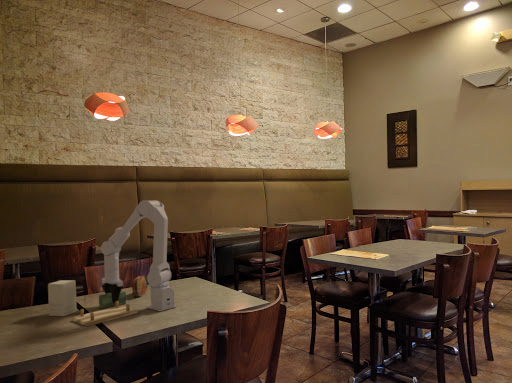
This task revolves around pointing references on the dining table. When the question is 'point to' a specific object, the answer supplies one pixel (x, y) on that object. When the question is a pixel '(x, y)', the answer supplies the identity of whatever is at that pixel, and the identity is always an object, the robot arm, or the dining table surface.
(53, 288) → the supplement box
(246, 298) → the dining table surface
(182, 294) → the dining table surface
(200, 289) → the dining table surface
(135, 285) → the tin
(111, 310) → the base plate
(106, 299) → the board block
